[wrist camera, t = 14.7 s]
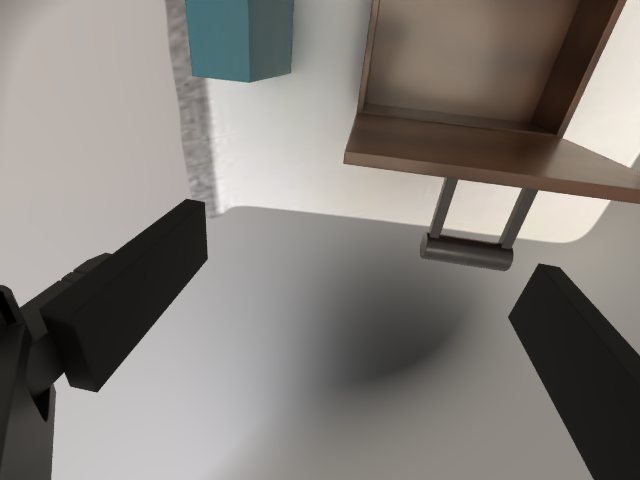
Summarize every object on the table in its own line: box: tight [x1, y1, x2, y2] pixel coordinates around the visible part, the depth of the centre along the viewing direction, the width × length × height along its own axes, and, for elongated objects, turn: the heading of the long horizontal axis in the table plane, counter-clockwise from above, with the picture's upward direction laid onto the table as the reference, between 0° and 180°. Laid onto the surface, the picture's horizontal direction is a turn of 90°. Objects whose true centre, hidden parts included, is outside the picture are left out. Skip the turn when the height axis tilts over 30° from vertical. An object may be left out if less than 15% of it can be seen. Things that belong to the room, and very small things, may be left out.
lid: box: [343, 113, 640, 271], centre depth 26 cm, size 14×19×8 cm
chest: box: [357, 0, 627, 139], centre depth 30 cm, size 13×19×7 cm
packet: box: [185, 0, 294, 83], centre depth 29 cm, size 8×5×14 cm, turn 175°
